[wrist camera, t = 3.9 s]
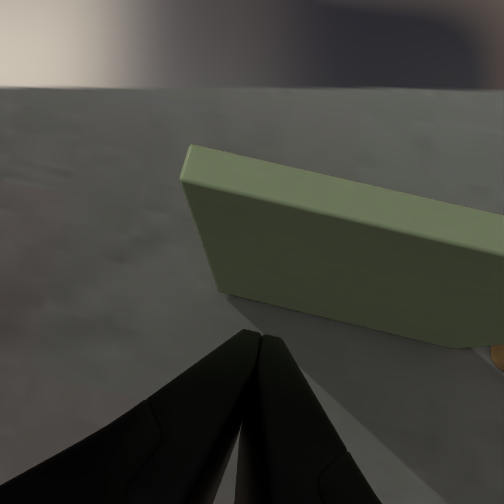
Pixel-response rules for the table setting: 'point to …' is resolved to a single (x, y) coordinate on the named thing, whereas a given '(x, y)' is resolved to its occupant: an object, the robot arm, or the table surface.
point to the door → (348, 249)
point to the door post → (498, 356)
